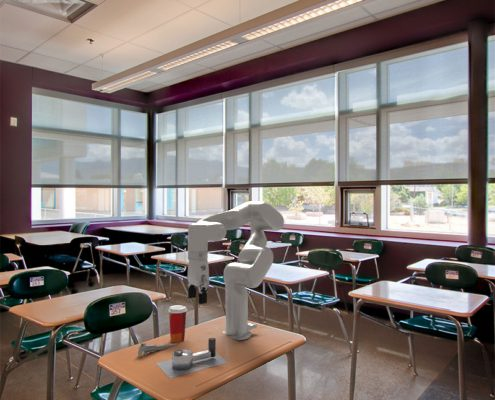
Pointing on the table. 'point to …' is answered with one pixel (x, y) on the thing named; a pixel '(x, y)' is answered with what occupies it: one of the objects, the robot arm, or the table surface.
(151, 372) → the table surface
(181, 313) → the paper cup
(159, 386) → the table surface
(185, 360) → the metal crank handle
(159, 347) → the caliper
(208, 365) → the stand
